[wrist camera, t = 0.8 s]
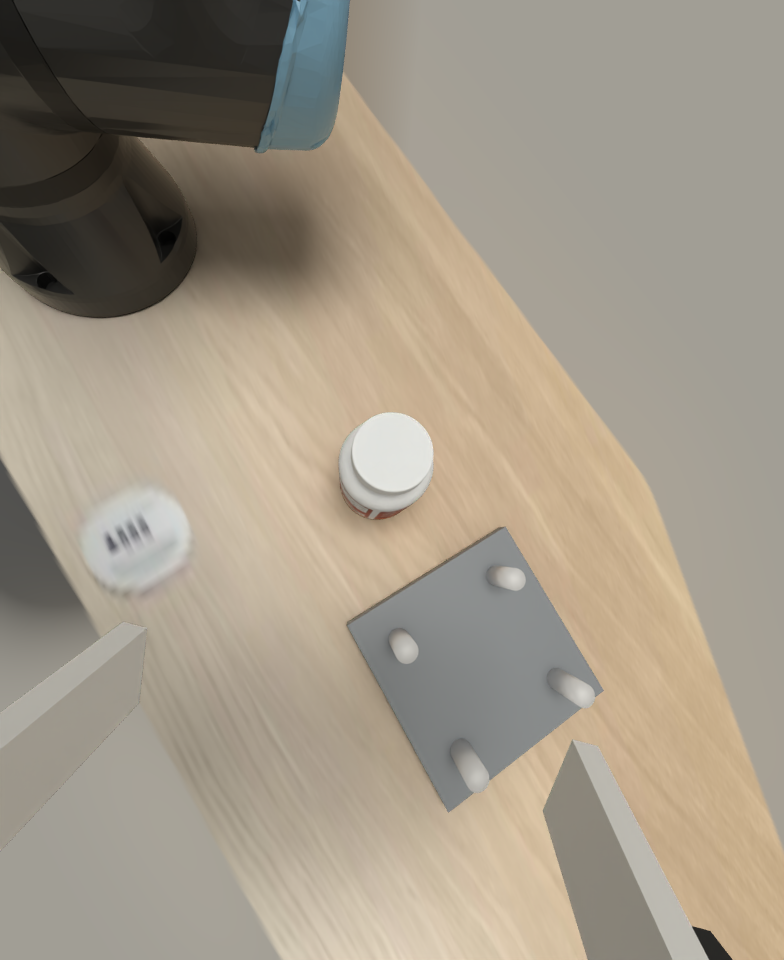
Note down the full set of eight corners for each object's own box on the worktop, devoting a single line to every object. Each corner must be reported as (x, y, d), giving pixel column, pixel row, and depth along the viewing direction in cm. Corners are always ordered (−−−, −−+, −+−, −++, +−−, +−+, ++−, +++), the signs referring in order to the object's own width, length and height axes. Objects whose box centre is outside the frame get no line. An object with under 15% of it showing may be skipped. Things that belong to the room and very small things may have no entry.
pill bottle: (416, 455, 33) (454, 410, 22) (407, 525, 31) (441, 514, 21) (346, 442, 32) (348, 389, 21) (333, 513, 31) (328, 495, 20)
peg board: (346, 622, 29) (347, 636, 25) (499, 527, 32) (525, 524, 28) (444, 801, 28) (463, 851, 24) (593, 685, 31) (637, 709, 27)
